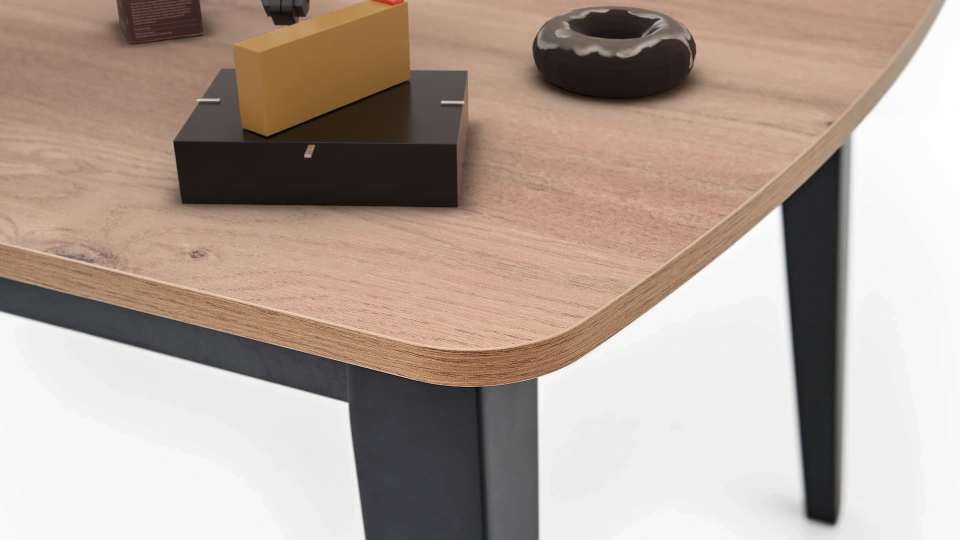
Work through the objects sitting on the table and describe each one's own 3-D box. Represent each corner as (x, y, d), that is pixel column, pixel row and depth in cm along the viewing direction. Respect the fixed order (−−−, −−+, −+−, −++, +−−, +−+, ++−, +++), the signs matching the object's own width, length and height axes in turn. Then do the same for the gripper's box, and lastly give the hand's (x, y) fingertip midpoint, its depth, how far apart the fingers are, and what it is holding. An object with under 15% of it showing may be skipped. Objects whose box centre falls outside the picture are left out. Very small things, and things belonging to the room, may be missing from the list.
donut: (604, 119, 81) (607, 61, 79) (500, 70, 89) (500, 18, 87) (728, 82, 87) (733, 28, 85) (619, 40, 95) (621, -10, 93)
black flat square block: (170, 221, 68) (160, 153, 66) (233, 113, 82) (226, 55, 80) (457, 225, 68) (456, 156, 66) (471, 116, 82) (470, 57, 80)
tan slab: (267, 137, 68) (258, 47, 66) (241, 127, 70) (231, 39, 67) (411, 79, 76) (407, -3, 74) (385, 71, 78) (381, -9, 75)
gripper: (406, -181, 84) (395, 48, 79) (217, -181, 84) (194, 46, 80) (395, -256, 77) (381, -9, 72) (188, -255, 77) (161, -11, 72)
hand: (283, 19), depth 76 cm, fingers closed
